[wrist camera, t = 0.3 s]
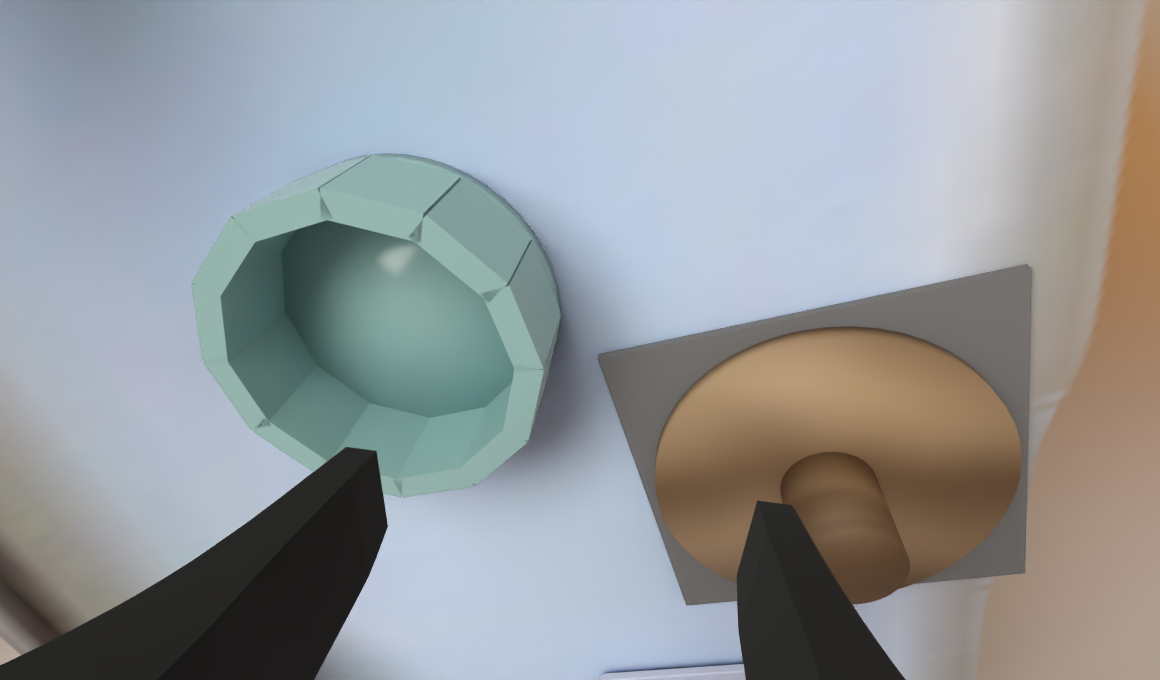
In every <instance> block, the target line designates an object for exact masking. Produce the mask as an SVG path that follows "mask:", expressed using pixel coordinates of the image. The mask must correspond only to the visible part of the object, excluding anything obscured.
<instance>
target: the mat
mask: <svg viewBox="0 0 1160 680" xmlns="http://www.w3.org/2000/svg"><path fill="white" fill-rule="evenodd" d="M1031 275H1032V269H1031V268H1030V267H1029V266H1028V265H1027V264H1026V265H1021V266H1016V267H1012V268H1007V269H1002V270H997V271H993V272H988V273H983V274H978V275H974V276H969V277H964V278H959V279H955V280H950V281H945V282H940V283H936V284H931V285H926V286H921V287H917V288H912V289H907V290H902V291H898V292H893V293H888V294H883V295H879V296H874V297H869V298H864V299H860V300H855V301H850V302H845V303H840V304H836V305H831V306H826V307H821V308H817V309H812V310H807V311H802V312H798V313H793V314H788V315H783V316H779V317H774V318H769V319H764V320H760V321H755V322H750V323H745V324H741V325H736V326H731V327H726V328H722V329H717V330H712V331H707V332H703V333H698V334H693V335H688V336H684V337H679V338H674V339H669V340H665V341H660V342H655V343H650V344H646V345H641V346H636V347H631V348H627V349H622V350H617V351H612V352H607V353H603V354H599V356H598V360H599V363H600V366H601V369H602V372H603V374H604V377H605V380H606V383H607V386H608V388H609V391H610V394H611V397H612V399H613V402H614V405H615V408H616V411H617V413H618V416H619V419H620V422H621V424H622V427H623V430H624V433H625V436H626V438H627V441H628V444H629V447H630V450H631V452H632V455H633V458H634V461H635V463H636V466H637V469H638V472H639V475H640V477H641V480H642V483H643V486H644V489H645V491H646V494H647V497H648V500H649V502H650V505H651V508H652V511H653V514H654V516H655V519H656V522H657V525H658V528H659V530H660V533H661V536H662V539H663V541H664V544H665V547H666V550H667V553H668V555H669V558H670V561H671V564H672V566H673V569H674V572H675V575H676V578H677V580H678V583H679V586H680V589H681V592H682V594H683V597H684V600H685V603H686V605H697V604H707V603H718V602H728V601H737V583H735V582H732V581H730V580H728V579H726V578H724V577H722V576H720V575H718V574H716V573H714V572H713V571H711V570H710V569H708V568H707V567H705V566H704V565H703V564H701V563H700V562H698V561H697V560H696V559H695V558H694V557H693V556H691V555H690V554H689V553H688V552H687V551H686V550H685V549H684V548H683V547H682V546H681V544H680V543H679V542H678V541H677V540H676V539H675V537H674V536H673V534H672V533H671V531H670V530H669V528H668V527H667V525H666V523H665V521H664V518H663V516H662V514H661V512H660V509H659V505H658V501H657V497H656V489H655V461H656V451H657V446H658V442H659V438H660V435H661V431H662V429H663V427H664V425H665V423H666V420H667V418H668V416H669V414H670V413H671V411H672V410H673V408H674V407H675V405H676V404H677V402H678V401H679V399H680V398H681V397H682V396H683V395H684V394H685V393H686V391H687V390H688V389H689V388H690V387H691V386H692V385H693V384H694V383H695V382H696V381H697V380H698V379H700V378H701V377H702V376H703V375H704V374H705V373H707V372H708V371H709V370H710V369H712V368H713V367H715V366H716V365H718V364H719V363H721V362H722V361H724V360H725V359H727V358H728V357H730V356H732V355H734V354H736V353H738V352H740V351H742V350H744V349H746V348H748V347H750V346H753V345H755V344H758V343H761V342H763V341H766V340H768V339H771V338H774V337H778V336H782V335H786V334H790V333H793V332H797V331H803V330H810V329H817V328H824V327H846V326H854V327H868V328H879V329H885V330H890V331H895V332H901V333H905V334H908V335H911V336H914V337H918V338H921V339H924V340H927V341H929V342H931V343H933V344H935V345H938V346H940V347H942V348H944V349H946V350H948V351H950V352H951V353H953V354H954V355H956V356H958V357H959V358H961V359H962V360H964V361H965V362H967V363H968V364H969V365H970V366H971V367H972V368H973V369H975V370H976V371H977V372H978V373H979V374H980V375H981V376H982V377H983V378H984V379H985V380H986V382H987V383H988V384H989V385H990V387H991V388H992V389H993V390H994V392H995V393H996V394H997V396H998V397H999V398H1000V400H1001V401H1002V402H1003V404H1004V405H1005V406H1006V408H1007V410H1008V411H1009V413H1010V415H1011V417H1012V419H1013V421H1014V423H1015V425H1016V429H1017V432H1018V435H1019V439H1020V442H1021V454H1022V465H1021V474H1020V480H1019V483H1018V487H1017V490H1016V493H1015V496H1014V498H1013V500H1012V502H1011V504H1010V506H1009V508H1008V510H1007V512H1006V514H1005V515H1004V517H1003V518H1002V519H1001V521H1000V522H999V524H998V525H997V526H996V528H995V529H994V530H993V531H992V532H991V533H990V534H989V536H988V537H987V538H986V539H985V540H984V541H983V542H982V543H981V544H980V545H978V546H977V547H976V548H975V549H974V550H972V551H971V552H970V553H969V554H968V555H966V556H965V557H964V558H962V559H961V560H959V561H957V562H956V563H954V564H953V565H951V566H950V567H948V568H946V569H945V570H943V571H941V572H939V573H937V574H935V575H933V576H931V577H929V578H927V579H924V580H922V581H919V582H917V583H927V582H937V581H948V580H958V579H968V578H979V577H989V576H999V575H1010V574H1021V573H1025V550H1026V548H1025V547H1026V505H1027V459H1028V413H1029V367H1030V321H1031ZM914 584H916V583H914Z"/></svg>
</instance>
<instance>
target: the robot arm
mask: <svg viewBox="0 0 1160 680" xmlns="http://www.w3.org/2000/svg"><path fill="white" fill-rule="evenodd" d="M387 527H388V525H387V518H386V511H385V504H384V498H383V491H382V484H381V477H380V470H379V464H378V457H377V451H374V450H367V449H359V448H352V447H345V448H344V449H343V450H341V451H340V452H339V453H337V454H336V455H335V456H334V457H332V458H331V459H330V460H328V461H327V462H326V463H324V464H323V465H322V466H321V467H319V468H318V469H317V470H315V471H314V472H313V473H312V474H310V475H309V476H308V477H306V478H305V479H304V480H303V481H301V482H300V483H299V484H297V485H296V486H295V487H294V488H292V489H291V490H290V491H288V492H287V493H286V494H285V495H283V496H282V497H281V498H279V499H278V500H277V501H275V502H274V503H273V504H271V505H270V506H269V507H267V508H266V509H265V510H263V511H262V512H261V513H259V514H258V515H257V516H255V517H254V518H253V519H251V520H250V521H249V522H247V523H246V524H245V525H243V526H242V527H240V528H239V529H237V530H236V531H235V532H233V533H232V534H230V535H229V536H227V537H226V538H224V539H223V540H222V541H220V542H219V543H217V544H216V545H214V546H213V547H212V548H210V549H209V550H207V551H206V552H204V553H203V554H201V555H200V556H199V557H197V558H196V559H194V560H192V561H191V562H189V563H188V564H186V565H185V566H183V567H182V568H180V569H178V570H177V571H175V572H174V573H172V574H171V575H169V576H167V577H166V578H164V579H162V580H161V581H159V582H157V583H156V584H154V585H152V586H151V587H149V588H147V589H146V590H144V591H142V592H141V593H139V594H137V595H136V596H134V597H132V598H130V599H129V600H127V601H125V602H123V603H122V604H120V605H118V606H116V607H114V608H112V609H111V610H109V611H107V612H105V613H103V614H101V615H99V616H97V617H96V618H94V619H92V620H90V621H88V622H86V623H84V624H82V625H80V626H79V627H77V628H75V629H73V630H71V631H69V632H67V633H65V634H64V635H62V636H60V637H58V638H56V639H54V640H52V641H50V642H48V643H46V644H44V645H42V646H40V647H38V648H36V649H34V650H32V651H30V652H28V653H25V654H23V655H21V656H19V657H17V658H15V659H13V660H11V661H9V662H7V663H5V664H2V665H0V680H314V679H315V677H316V675H317V673H318V671H319V669H320V667H321V666H322V664H323V662H324V660H325V658H326V656H327V654H328V652H329V651H330V649H331V647H332V645H333V643H334V641H335V639H336V637H337V636H338V634H339V632H340V630H341V628H342V626H343V624H344V622H345V621H346V619H347V617H348V615H349V613H350V611H351V609H352V607H353V605H354V604H355V602H356V600H357V598H358V596H359V594H360V592H361V590H362V588H363V586H364V584H365V582H366V580H367V578H368V577H369V574H370V572H371V569H372V567H373V564H374V562H375V559H376V557H377V554H378V551H379V549H380V546H381V543H382V541H383V538H384V535H385V532H386V530H387ZM737 606H738V627H739V637H740V644H741V651H742V657H743V664H734V665H719V666H705V667H690V668H676V669H661V670H647V671H633V672H618V673H606V674H603V675H601V676H600V678H599V680H905V678H904V677H903V676H902V674H901V673H900V672H899V671H898V669H897V668H896V667H895V665H894V664H893V662H892V661H891V660H890V658H889V657H888V656H887V654H886V653H885V651H884V650H883V649H882V647H881V646H880V644H879V643H878V642H877V640H876V639H875V638H874V636H873V635H872V633H871V632H870V630H869V629H868V627H867V626H866V624H865V623H864V622H863V620H862V619H861V617H860V616H859V614H858V613H857V611H856V609H855V608H854V606H853V605H852V603H851V602H850V600H849V599H848V597H847V596H846V594H845V593H844V591H843V590H842V588H841V587H840V585H839V583H838V582H837V580H836V579H835V577H834V575H833V574H832V572H831V570H830V569H829V567H828V566H827V564H826V562H825V561H824V559H823V557H822V556H821V554H820V552H819V551H818V549H817V547H816V545H815V544H814V542H813V540H812V538H811V537H810V535H809V533H808V531H807V530H806V528H805V526H804V524H803V523H802V521H801V519H800V517H799V515H798V514H797V512H796V510H795V509H794V508H793V506H792V505H788V504H780V503H773V502H765V501H757V503H756V506H755V510H754V514H753V517H752V521H751V525H750V528H749V532H748V536H747V539H746V543H745V547H744V550H743V554H742V557H741V561H740V565H739V568H738V572H737Z"/></svg>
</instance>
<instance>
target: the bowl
mask: <svg viewBox="0 0 1160 680" xmlns="http://www.w3.org/2000/svg"><path fill="white" fill-rule="evenodd" d="M192 282H193V283H192V291H193V298H194V305H195V312H196V319H197V327H198V334H199V341H200V348H201V355H202V360H203V361H204V362H203V363H204V364H205V366H206V367H207V369H208V370H209V372H210V373H211V374H212V376H213V377H214V379H215V380H216V381H217V383H218V384H219V386H220V387H221V388H222V390H223V391H224V393H225V394H226V395H227V397H228V398H229V400H230V401H231V403H232V404H233V405H234V407H235V408H236V410H237V411H238V412H239V414H240V415H241V417H242V418H243V419H244V421H245V422H246V424H247V425H248V426H249V428H250V429H251V430H252V429H254V430H253V432H254V433H256V434H257V435H259V436H260V437H262V438H263V439H265V440H266V441H268V442H269V443H271V444H272V445H274V446H275V447H277V448H278V449H280V450H281V451H283V452H284V453H286V454H287V455H289V456H290V457H292V458H293V459H295V460H296V461H298V462H299V463H301V464H302V465H304V466H305V467H307V468H308V469H310V470H311V471H313V472H314V471H315V470H317V469H318V468H319V467H321V466H322V465H323V464H324V463H326V462H327V461H328V460H330V459H331V458H332V457H334V456H335V455H336V454H337V453H339V452H340V451H341V450H343V449H344V448H345V447H352V448H359V449H367V450H374V451H377V457H378V464H379V470H380V477H381V484H382V491H383V493H384V494H388V495H392V496H397V497H403V498H405V497H411V496H417V495H423V494H429V493H436V492H442V491H448V490H454V489H461V488H467V487H473V486H475V485H477V484H479V483H480V482H481V481H482V480H483V479H485V478H486V477H487V476H488V475H489V474H491V473H492V472H493V471H494V470H495V469H497V468H498V467H499V466H500V465H501V464H503V463H504V462H505V461H506V460H507V459H509V458H510V457H511V456H512V455H513V454H515V453H516V452H517V451H518V450H519V449H520V448H522V447H523V446H524V445H525V444H526V443H528V441H529V438H530V434H531V431H532V428H533V425H534V421H535V418H536V415H537V411H538V408H539V405H540V401H541V398H542V395H543V392H544V388H545V385H546V382H547V378H548V373H549V369H550V364H551V360H552V355H553V351H554V347H555V344H556V341H557V337H558V331H559V324H560V319H561V316H560V315H561V312H560V301H559V294H558V288H557V283H556V280H555V276H554V273H553V270H552V267H551V264H550V262H549V260H548V258H547V255H546V253H545V251H544V249H543V247H542V245H541V244H540V242H539V241H538V239H537V237H536V236H535V234H534V232H533V231H532V230H531V228H530V227H529V226H528V225H527V223H526V222H525V221H524V219H523V218H522V217H521V216H520V214H519V213H518V212H516V211H515V210H514V209H513V208H512V207H511V206H510V205H509V204H508V203H507V202H506V201H505V200H504V199H503V198H502V197H501V196H499V195H498V194H497V193H496V192H494V191H493V190H492V189H490V188H489V187H488V186H486V185H485V184H483V183H482V182H480V181H478V180H477V179H475V178H473V177H472V176H470V175H468V174H466V173H464V172H462V171H460V170H458V169H455V168H453V167H451V166H449V165H446V164H443V163H440V162H437V161H434V160H430V159H427V158H422V157H417V156H411V155H406V154H385V153H384V154H374V155H364V156H360V157H356V158H352V159H348V160H344V161H342V162H340V163H337V164H335V165H332V166H330V167H328V168H326V169H324V170H323V171H320V172H317V173H314V174H311V175H308V176H305V177H302V178H299V179H296V180H295V181H293V182H291V183H289V184H287V185H286V186H284V187H282V188H280V189H279V190H277V191H275V192H273V193H271V194H270V195H268V196H266V197H264V198H263V199H261V200H259V201H257V202H255V203H254V204H252V205H250V206H248V207H247V208H245V209H243V210H241V211H239V212H238V213H236V214H234V215H232V216H231V217H230V219H229V220H228V222H227V224H226V225H225V227H224V229H223V230H222V232H221V234H220V235H219V237H218V239H217V241H216V242H215V244H214V246H213V247H212V249H211V251H210V252H209V254H208V256H207V257H206V259H205V261H204V262H203V264H202V266H201V267H200V269H199V271H198V272H197V274H196V276H195V277H194V279H193V281H192Z"/></svg>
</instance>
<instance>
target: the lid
mask: <svg viewBox="0 0 1160 680" xmlns="http://www.w3.org/2000/svg"><path fill="white" fill-rule="evenodd" d="M1021 465H1022V454H1021V442H1020V439H1019V435H1018V432H1017V429H1016V425H1015V423H1014V421H1013V419H1012V417H1011V415H1010V413H1009V411H1008V410H1007V408H1006V406H1005V405H1004V404H1003V402H1002V401H1001V400H1000V398H999V397H998V396H997V394H996V393H995V392H994V390H993V389H992V388H991V387H990V385H989V384H988V383H987V382H986V380H985V379H984V378H983V377H982V376H981V375H980V374H979V373H978V372H977V371H976V370H975V369H973V368H972V367H971V366H970V365H969V364H968V363H967V362H965V361H964V360H962V359H961V358H959V357H958V356H956V355H954V354H953V353H951V352H950V351H948V350H946V349H944V348H942V347H940V346H938V345H935V344H933V343H931V342H929V341H927V340H924V339H921V338H918V337H914V336H911V335H908V334H905V333H901V332H895V331H890V330H885V329H879V328H868V327H854V326H846V327H824V328H817V329H810V330H803V331H797V332H793V333H790V334H786V335H782V336H778V337H774V338H771V339H768V340H766V341H763V342H761V343H758V344H755V345H753V346H750V347H748V348H746V349H744V350H742V351H740V352H738V353H736V354H734V355H732V356H730V357H728V358H727V359H725V360H724V361H722V362H721V363H719V364H718V365H716V366H715V367H713V368H712V369H710V370H709V371H708V372H707V373H705V374H704V375H703V376H702V377H701V378H700V379H698V380H697V381H696V382H695V383H694V384H693V385H692V386H691V387H690V388H689V389H688V390H687V391H686V393H685V394H684V395H683V396H682V397H681V398H680V399H679V401H678V402H677V404H676V405H675V407H674V408H673V410H672V411H671V413H670V414H669V416H668V418H667V420H666V423H665V425H664V427H663V429H662V431H661V435H660V438H659V442H658V446H657V451H656V461H655V489H656V497H657V501H658V505H659V509H660V512H661V514H662V516H663V518H664V521H665V523H666V525H667V527H668V528H669V530H670V531H671V533H672V534H673V536H674V537H675V539H676V540H677V541H678V542H679V543H680V544H681V546H682V547H683V548H684V549H685V550H686V551H687V552H688V553H689V554H690V555H691V556H693V557H694V558H695V559H696V560H697V561H698V562H700V563H701V564H703V565H704V566H705V567H707V568H708V569H710V570H711V571H713V572H714V573H716V574H718V575H720V576H722V577H724V578H726V579H728V580H730V581H732V582H735V583H737V572H738V568H739V565H740V561H741V557H742V554H743V550H744V547H745V543H746V539H747V536H748V532H749V528H750V525H751V521H752V517H753V514H754V510H755V506H756V503H757V501H765V502H773V503H780V504H788V505H792V506H793V508H794V509H795V510H796V512H797V514H798V515H799V517H800V519H801V521H802V523H803V524H804V526H805V528H806V530H807V531H808V533H809V535H810V537H811V538H812V540H813V542H814V544H815V545H816V547H817V549H818V551H819V552H820V554H821V556H822V557H823V559H824V561H825V562H826V564H827V566H828V567H829V569H830V570H831V572H832V574H833V575H834V577H835V579H836V580H837V582H838V583H839V585H840V587H841V588H842V590H843V591H844V593H845V594H846V596H847V597H848V599H849V600H850V602H851V603H852V604H862V603H868V602H872V601H876V600H879V599H881V598H884V597H886V596H888V595H890V594H891V593H893V592H894V591H896V590H897V589H900V588H903V587H906V586H909V585H912V584H914V583H917V582H919V581H922V580H924V579H927V578H929V577H931V576H933V575H935V574H937V573H939V572H941V571H943V570H945V569H946V568H948V567H950V566H951V565H953V564H954V563H956V562H957V561H959V560H961V559H962V558H964V557H965V556H966V555H968V554H969V553H970V552H971V551H972V550H974V549H975V548H976V547H977V546H978V545H980V544H981V543H982V542H983V541H984V540H985V539H986V538H987V537H988V536H989V534H990V533H991V532H992V531H993V530H994V529H995V528H996V526H997V525H998V524H999V522H1000V521H1001V519H1002V518H1003V517H1004V515H1005V514H1006V512H1007V510H1008V508H1009V506H1010V504H1011V502H1012V500H1013V498H1014V496H1015V493H1016V490H1017V487H1018V483H1019V480H1020V474H1021Z"/></svg>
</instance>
